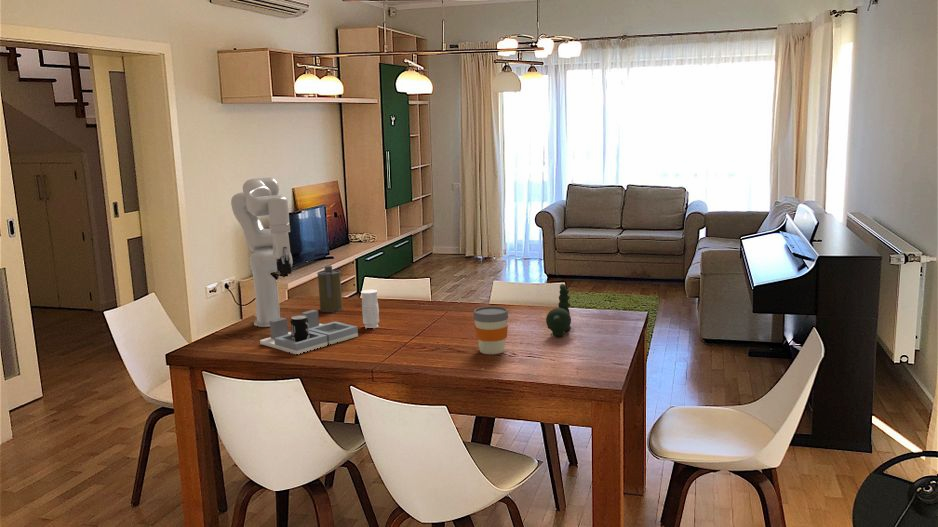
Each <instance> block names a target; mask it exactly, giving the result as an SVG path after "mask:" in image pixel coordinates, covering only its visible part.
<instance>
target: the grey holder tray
mask: <svg viewBox="0 0 938 527" xmlns="http://www.w3.org/2000/svg"><path fill="white" fill-rule="evenodd" d="M288 326H289V325H288V319H287V318H285V317H280V318H279V319H275V320H271V321H270V327H269V329H270V330H269V332H270V337H265V338H263V339H260V340H259V342H260V345H263V346H267V347H270V348H273V349H277V350H280V351H283V352H286V353H289V352H290V353H289V354H293V355H296V354H298V355H300V353H301V354H304V353H303V352H305V353H307V351H308V352H311V351H313V350H314V349H315V350H317V348H318V349H320V347H321V348H323V347H327V345H328V344H327V335H323V334H319V333H316V332H312V331H309V337H310V339H307V340H303V341H300V342H295V341H292V335H291V331H289V327H288ZM310 350H311V351H310ZM315 350H314V351H315Z"/></svg>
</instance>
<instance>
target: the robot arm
mask: <svg viewBox="0 0 938 527" xmlns="http://www.w3.org/2000/svg"><path fill="white" fill-rule="evenodd" d="M279 190H280V188H279V184H278V181H277V180H276V179H275V178H273V177H259V178H251V179H247V180H246V181H245V182H244V183H243V185H242V191H241V192H237V193H236V194H233V196H232V197H231V201H230V205H231V210H232V213H233V215H234V217H235V219H236V220H237V222H238V223H239V224H240V226H241V229H242V231H243V234H244V238H245V241H246V243H247V246H248V248H249V250H250V251H251V252H253V253H251V255H250V257H249V264H250V266H249V267H250V269H251V273H252V278H253V279H252V280H253V287H254V296H255V306H256V307H255V309H256V313H254V317H256V320H255V321H253V325H254V326H255V327H257V326H258V327H259V328H270V321H271V320H275V319H279V318H281V310H280V299H279V288H278V287H279V286H278V282H277V279H276V278H275V277H274V276H273V275H271V273H274V272H275V273H276V272H282V275H291V274H292V267H293V264H294V262H293V256H292V255H293V254H292V253H291V246H290V245H291V244H290V237H289V233H291V225H290V214H289V213H290V212H289V201H288V199H287V197H285V196H283V195H279ZM263 216H264V217H265V216H268V220H269V228H264V224H263V222H262V220H261V219H260V218H259V217H263Z"/></svg>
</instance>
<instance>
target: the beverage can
mask: <svg viewBox="0 0 938 527" xmlns="http://www.w3.org/2000/svg"><path fill="white" fill-rule="evenodd" d="M289 323H290V332H291V335H292V341H295V342H300V341H303V340H307V339H310V337H309V325H308V319H307V316H306V315H302V314H297V315H296V314H295V315H293V316H291V319H290V322H289Z"/></svg>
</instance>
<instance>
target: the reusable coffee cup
mask: <svg viewBox="0 0 938 527" xmlns="http://www.w3.org/2000/svg"><path fill="white" fill-rule="evenodd" d="M508 319H509V312H508V309H507V308H506V307H502V306H494V305H493V306H490V305H489V306H482V307H478V308H477V307H476V309H474V310H473V321H474V324H475V325H474V330H475V337H476V340H477V341H478V342H477V343H478V349H479V352H480V353H482V354H484V355H497V354H502V353H504V352H505V345H506V339H507V337H508V327H509V324H508Z"/></svg>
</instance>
